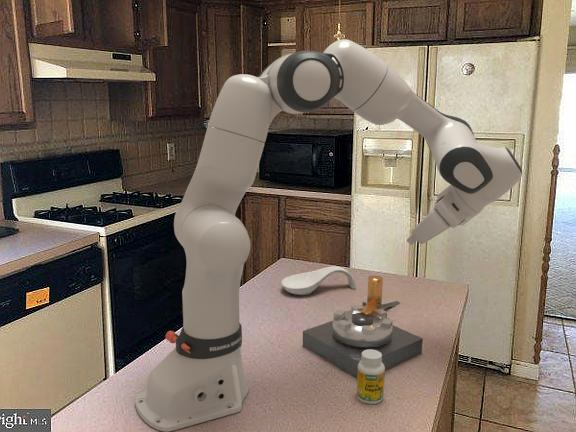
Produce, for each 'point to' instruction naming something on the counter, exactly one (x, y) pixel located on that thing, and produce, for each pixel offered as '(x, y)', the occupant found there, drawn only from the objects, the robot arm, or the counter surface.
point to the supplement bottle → (370, 377)
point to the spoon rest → (312, 280)
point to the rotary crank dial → (364, 320)
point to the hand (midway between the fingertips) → (409, 241)
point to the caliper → (385, 304)
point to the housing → (360, 348)
